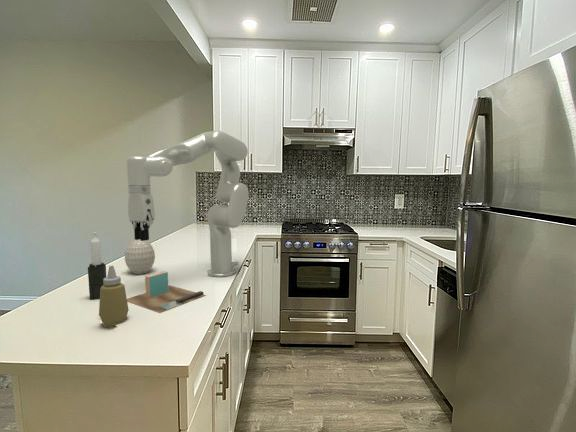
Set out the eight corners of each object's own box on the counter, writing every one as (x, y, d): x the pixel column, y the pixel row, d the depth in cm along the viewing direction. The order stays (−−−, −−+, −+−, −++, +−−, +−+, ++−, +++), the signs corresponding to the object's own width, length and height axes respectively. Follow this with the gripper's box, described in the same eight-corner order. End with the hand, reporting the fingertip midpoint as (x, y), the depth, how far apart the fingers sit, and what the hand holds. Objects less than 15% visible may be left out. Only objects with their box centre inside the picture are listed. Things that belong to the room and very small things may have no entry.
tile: (164, 291, 132) (164, 271, 131) (168, 292, 130) (167, 272, 129) (146, 297, 125) (145, 276, 124) (149, 299, 124) (148, 277, 123)
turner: (197, 292, 130) (197, 290, 130) (206, 295, 128) (206, 292, 128) (158, 307, 116) (158, 304, 116) (167, 310, 114) (167, 307, 114)
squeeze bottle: (121, 316, 112) (118, 261, 110) (134, 323, 107) (131, 265, 104) (95, 324, 106) (91, 266, 103) (106, 332, 100) (103, 271, 98)
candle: (89, 303, 123) (84, 233, 120) (93, 298, 128) (88, 231, 125) (105, 302, 124) (100, 232, 121) (108, 297, 129) (104, 230, 126)
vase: (155, 274, 158) (154, 238, 156) (124, 277, 153) (122, 240, 151) (155, 267, 170) (153, 234, 168) (126, 270, 165) (124, 235, 163)
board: (169, 288, 139) (169, 285, 139) (206, 298, 128) (206, 295, 128) (122, 303, 123) (122, 300, 123) (160, 316, 111) (159, 313, 111)
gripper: (162, 190, 126) (164, 240, 128) (135, 189, 135) (138, 236, 137) (143, 191, 120) (146, 243, 122) (117, 190, 129) (120, 239, 131)
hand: (141, 239), depth 130 cm, fingers open, 2 cm apart
